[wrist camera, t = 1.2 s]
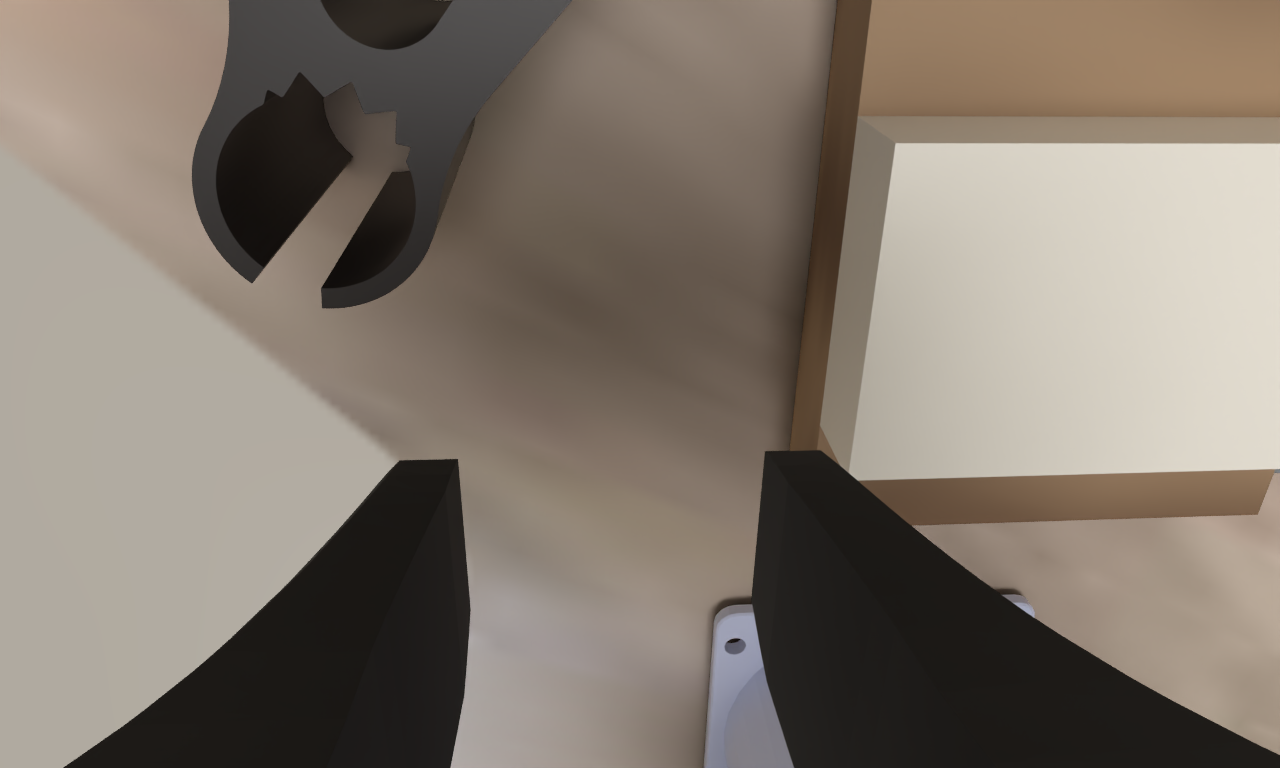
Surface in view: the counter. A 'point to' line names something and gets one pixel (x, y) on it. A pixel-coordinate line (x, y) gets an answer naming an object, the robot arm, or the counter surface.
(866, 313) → the cream rectangular tile
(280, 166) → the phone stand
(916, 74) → the brown block
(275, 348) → the counter surface
